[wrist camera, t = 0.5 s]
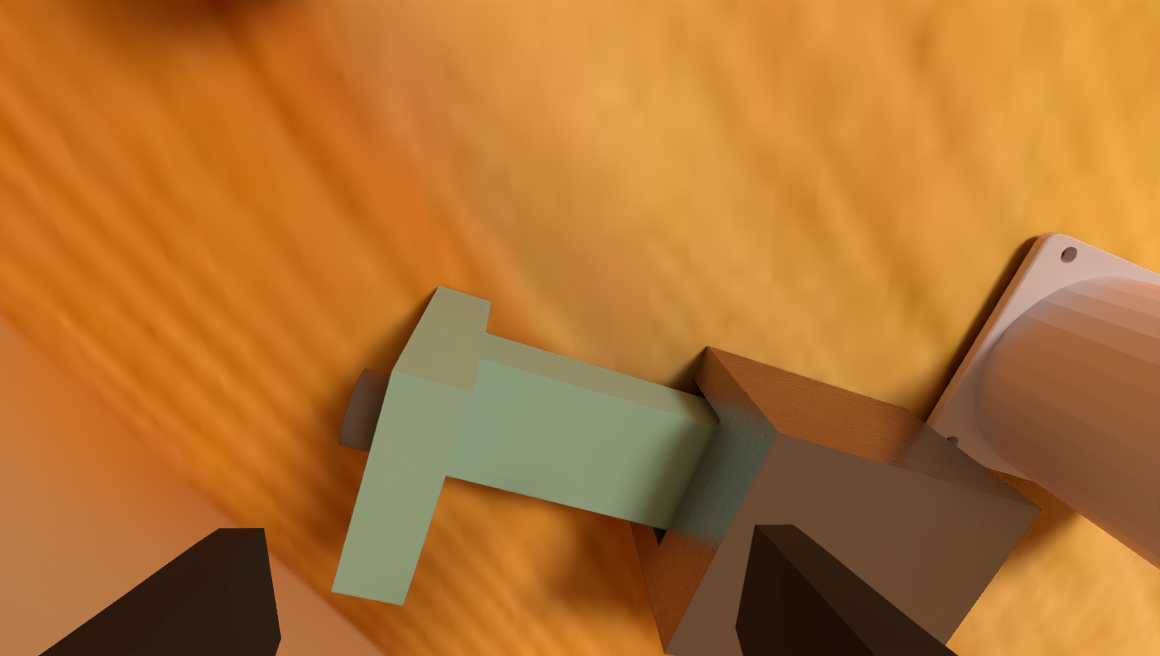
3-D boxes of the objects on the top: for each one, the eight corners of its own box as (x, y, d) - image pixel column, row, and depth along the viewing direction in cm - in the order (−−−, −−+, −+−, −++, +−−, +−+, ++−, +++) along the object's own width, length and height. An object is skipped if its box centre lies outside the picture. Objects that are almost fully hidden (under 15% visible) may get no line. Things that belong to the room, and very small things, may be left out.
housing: (907, 409, 20) (1041, 509, 15) (815, 564, 22) (905, 701, 17) (707, 345, 18) (778, 432, 13) (629, 518, 20) (664, 653, 15)
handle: (805, 399, 19) (927, 518, 13) (736, 530, 21) (818, 687, 15) (405, 274, 17) (339, 355, 11) (362, 436, 18) (283, 582, 12)
